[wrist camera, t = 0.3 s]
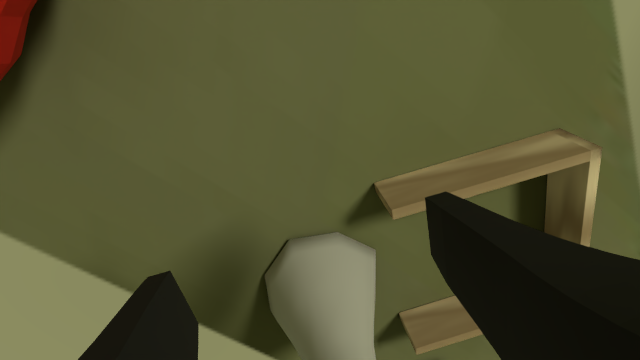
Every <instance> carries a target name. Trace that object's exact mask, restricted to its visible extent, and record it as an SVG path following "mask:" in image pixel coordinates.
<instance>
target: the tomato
mask: <svg viewBox="0 0 640 360" xmlns="http://www.w3.org/2000/svg"><path fill="white" fill-rule="evenodd" d="M36 2H37V0H0V81H1V80H2V78H3V77H4V76H5V75H6V73H7V72H8V71H9V70H10V68H11V67H12V66H13V64H14V63H15V62H16V61H17V59H18V58H19V57H20V56H21V53H22V49H23V44H24V39H25V34H26V29H27V25H28V20H29V15H30V12H31V10H32V8H33V7H34V5H35V3H36Z"/></svg>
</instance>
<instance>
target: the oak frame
mask: <svg viewBox="0 0 640 360" xmlns="http://www.w3.org/2000/svg"><path fill="white" fill-rule="evenodd" d="M601 154H602V147H600V146H598V145H596V144H594V143H591V142H589V141H587V140H585V139H583V138H580V137H578V136H576V135H574V134H572V133H569V132H567V131H565V130H563V129H560V128H559V129H556V130H552V131H549V132H545V133H542V134H539V135H535V136H532V137H528V138H525V139H522V140H518V141H515V142H511V143H508V144H505V145H501V146H498V147H494V148H491V149H488V150H484V151H481V152H477V153H474V154H471V155H467V156H464V157H460V158H457V159H454V160H450V161H447V162H443V163H440V164H436V165H433V166H430V167H426V168H423V169H419V170H416V171H413V172H409V173H406V174H402V175H399V176H396V177H392V178H389V179H385V180H382V181H379V182H375V183H374V185H375V190H376V193H377V194H378V196H379V198H380V199H381V201H382V202H383V204H384V206H385V207H386V209H387V210H388V212H389V214H390V215H391V217H392V218H393V220H394V219H398V218H401V217H404V216H408V215H411V214H414V213H418V212H421V211H425V210H426V203H425V197H428V196H432V195H435V194H438V193H442V192H445V191H446V192H449V193H451V194H454V195H456V196H458V197H461V198H463V199H465V198H468V197H471V196H475V195H478V194H482V193H485V192H488V191H492V190H495V189H498V188H502V187H505V186H508V185H512V184H515V183H518V182H522V181H525V180H528V179H532V178H535V177H538V176H542V175H545V174H548V177H547V194H546V211H545V228H544V232H545V233H547V234H550V235H553V236H556V237H558V238H561V239H565V240H568V241H571V242H574V243H577V244H581V245H584V246H588V247H589V246H590V238H591V231H592V223H593V215H594V208H595V200H596V192H597V185H598V177H599V169H600V162H601ZM399 316H400V320H401V322H402V324H403V326H404V328H405V331H406V333H407V335H408V337H409V339H410V341H411V344H412V346H413V348H414V350H415V352H416V354H417V355H418V354H421V353H424V352H427V351H431V350H434V349H437V348H440V347H443V346H446V345H450V344H453V343H456V342H459V341H462V340H466V339H469V338H472V337H475V336H478V335H481V334H483V333H482V332H481V330H480V329H479V328H478V326H477V325H476V323H475V322H474V321H473V319H472V318H471V317H470V315H469V314H468V312H467V311H466V310H465V308H464V307H463V306H462V304H461V303H460V301H459V300H458V299H457V297H456V296H452V297H449V298H445V299H442V300H439V301H436V302H432V303H429V304H426V305H423V306H419V307H416V308H413V309H410V310H406V311H403V312H400V313H399Z"/></svg>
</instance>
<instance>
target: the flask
mask: <svg viewBox="0 0 640 360" xmlns="http://www.w3.org/2000/svg"><path fill="white" fill-rule="evenodd" d="M265 281H266V287H267V293H268V299H269V305H270V311H271V312H272V314H273V315H274V317H275V319H276V320H277V322H278V323H279V325H280V326H281V328H282V329H283V331H284V332H285V334H286V335H287V337H288V338H289V340H290V341H291V342H292V344H293V346H294V347H295V349H296V351H297V352H298V354H299V356H300V357H301V359H302V360H376V357H375V350H374V312H375V287H376V250H375V249H373V248H371V247H369V246H366V245H364V244H362V243H360V242H358V241H356V240H354V239H351V238H349V237H347V236H345V235H343V234H341V233H338V232H336V233H329V234H323V235H316V236H310V237H303V238H297V239H290V240H289V241H288V242H287V244H286V245H285V246H284V248H283V249H282V251H281V252H280V254H279V255H278V257H277V258H276V259H275V261H274V262H273V264H272V265H271V267H270V268H269V270H268V271H267V272H266V274H265Z"/></svg>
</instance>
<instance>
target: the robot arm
mask: <svg viewBox="0 0 640 360" xmlns="http://www.w3.org/2000/svg"><path fill="white" fill-rule="evenodd" d="M425 203H426V212H427V221H428V230H429V239H430V248H431V255H432V257H433V259H434V261H435V263H436V264H437V266H438V268H439V270H440V272H441V274H442V276H443V277H444V279H445V281H446V283H447V284H448V286H449V287H450V289H451V290H452V292H453V293H454V294H455V296H456V297H457V299H458V300H459V301H460V303H461V304H462V306H463V307H464V308H465V310H466V311H467V312H468V314H469V315H470V317H471V318H472V319H473V321H474V322H475V323H476V325H477V326H478V328H479V329H480V330H481V332H482V333H483V334H484V336H485V337H486V338H487V340H488V341H489V343H490V344H491V345H492V347H493V348H494V349H495V351H496V352H497V354H498V355H499V357H500V358H501V360H640V260H637V259H633V258H628V257H624V256H620V255H616V254H612V253H608V252H605V251H601V250H598V249H594V248H591V247H588V246H584V245H581V244H577V243H574V242H571V241H568V240H565V239H561V238H558V237H556V236H553V235H550V234H547V233H545V232H542V231H539V230H536V229H534V228H531V227H528V226H526V225H523V224H521V223H518V222H516V221H513V220H511V219H508V218H506V217H504V216H501V215H499V214H496V213H494V212H492V211H490V210H487V209H485V208H483V207H481V206H478V205H476V204H474V203H472V202H469V201H467V200H465V199H463V198H461V197H458V196H456V195H454V194H451V193H449V192H446V191H445V192H442V193H438V194H435V195H432V196H428V197H425ZM78 360H198V322H197V320H196V318H195V316H194V314H193V312H192V310H191V309H190V307H189V305H188V303H187V301H186V299H185V297H184V296H183V294H182V292H181V290H180V288H179V286H178V284H177V283H176V281H175V279H174V277H173V275H172V273H171V271H167V272H164V273H161V274H157V275H154V276H150V277H148V278H147V279H146V280H145V281H144V282H143V283H142V284H141V285H140V286H139V288H138V289H137V290H136V291H135V292H134V293H133V295H132V296H131V297H130V298H129V300H128V301H127V302H126V303H125V304H124V306H123V307H122V308H121V309H120V311H119V312H118V313H117V314H116V316H115V317H114V318H113V319H112V320H111V321H110V323H109V324H108V325H107V327H106V328H105V329H104V330H103V331H102V332H101V334H100V335H99V336H98V337H97V338H96V340H95V341H94V342H93V343H92V344H91V345H90V346H89V348H88V349H87V350H86V351H85V352H84V353H83V354H82V356H81V357H80V358H79V359H78Z"/></svg>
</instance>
